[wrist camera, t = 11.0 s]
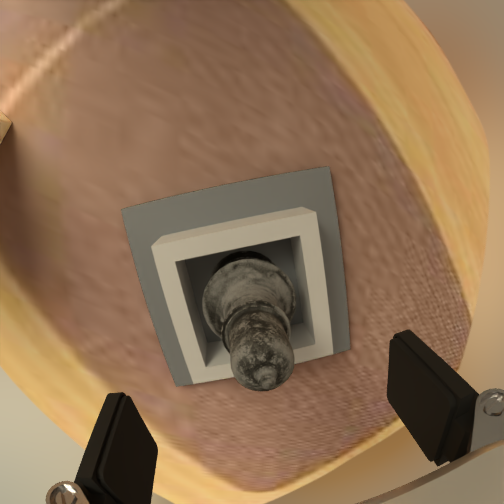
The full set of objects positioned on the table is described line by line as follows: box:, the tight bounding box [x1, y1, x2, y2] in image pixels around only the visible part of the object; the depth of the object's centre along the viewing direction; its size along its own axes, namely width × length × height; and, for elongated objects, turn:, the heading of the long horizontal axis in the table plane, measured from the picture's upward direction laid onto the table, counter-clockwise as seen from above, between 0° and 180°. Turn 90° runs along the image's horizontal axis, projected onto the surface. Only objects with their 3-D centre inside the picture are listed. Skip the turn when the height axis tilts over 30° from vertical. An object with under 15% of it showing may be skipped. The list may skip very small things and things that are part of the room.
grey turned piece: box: [202, 251, 296, 391], centre depth 17 cm, size 6×6×12 cm
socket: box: [121, 166, 350, 387], centre depth 22 cm, size 15×15×4 cm
